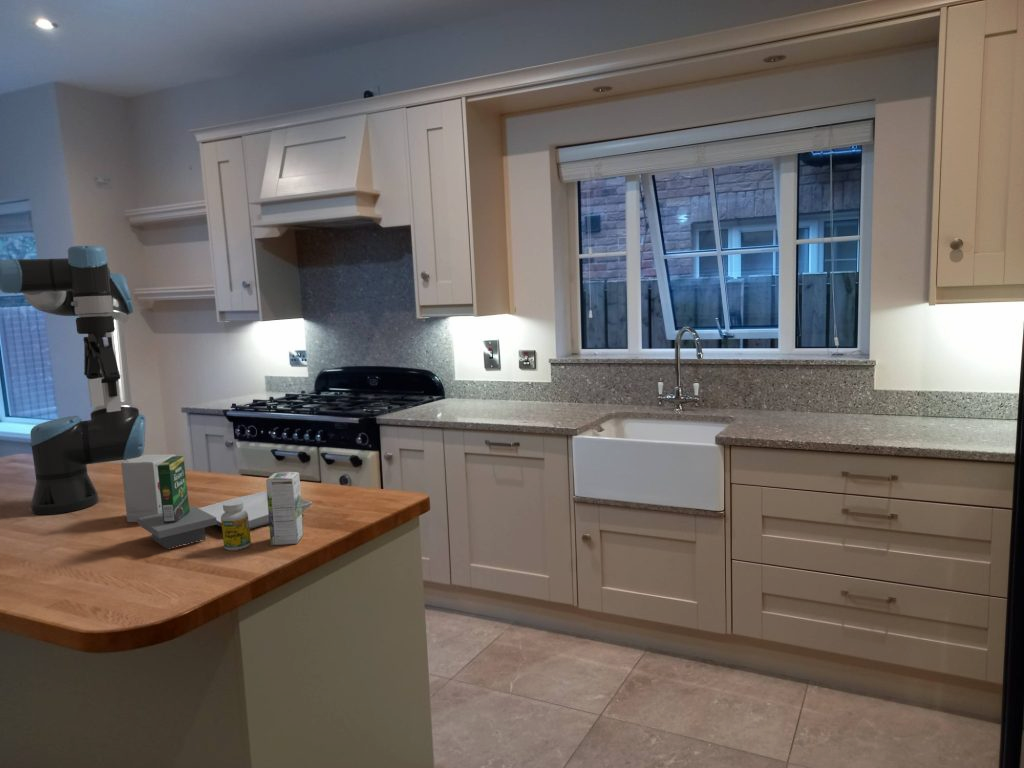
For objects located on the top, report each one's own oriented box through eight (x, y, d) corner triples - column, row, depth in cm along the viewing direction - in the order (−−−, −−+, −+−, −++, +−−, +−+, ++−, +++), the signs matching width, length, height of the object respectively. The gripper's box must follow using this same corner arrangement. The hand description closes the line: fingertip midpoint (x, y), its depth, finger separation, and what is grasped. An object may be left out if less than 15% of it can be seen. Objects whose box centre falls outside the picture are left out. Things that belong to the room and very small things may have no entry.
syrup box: (277, 537, 161) (271, 472, 159) (304, 535, 161) (299, 470, 159) (270, 546, 155) (264, 479, 153) (298, 544, 156) (292, 477, 154)
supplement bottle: (252, 541, 159) (248, 498, 158) (249, 549, 154) (245, 504, 153) (226, 544, 158) (221, 500, 157) (222, 552, 153) (217, 507, 151)
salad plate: (189, 522, 176) (187, 509, 175) (270, 501, 191) (269, 488, 191) (231, 540, 162) (230, 525, 161) (315, 515, 177) (314, 501, 177)
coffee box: (176, 523, 157) (169, 463, 156) (162, 524, 157) (155, 464, 156) (190, 512, 165) (184, 455, 164) (178, 513, 165) (171, 456, 164)
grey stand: (140, 540, 163) (137, 518, 163) (195, 526, 171) (193, 505, 171) (160, 554, 153) (158, 531, 152) (218, 539, 161) (216, 517, 160)
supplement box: (159, 523, 175) (152, 462, 173) (126, 523, 177) (119, 462, 175) (183, 512, 184) (177, 453, 182) (151, 511, 186) (145, 453, 184)
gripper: (62, 316, 172) (74, 406, 174) (89, 316, 153) (101, 416, 156) (98, 315, 177) (108, 402, 179) (128, 314, 158) (139, 411, 161)
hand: (105, 408), depth 168 cm, fingers open, 13 cm apart
